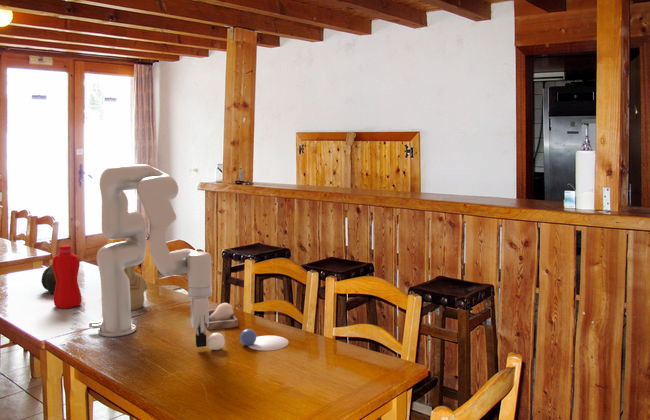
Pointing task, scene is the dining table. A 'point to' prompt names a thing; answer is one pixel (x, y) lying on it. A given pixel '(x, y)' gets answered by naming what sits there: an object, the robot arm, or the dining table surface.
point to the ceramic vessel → (136, 288)
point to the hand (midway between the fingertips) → (201, 345)
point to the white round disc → (269, 343)
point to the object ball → (248, 337)
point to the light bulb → (221, 313)
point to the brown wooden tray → (222, 322)
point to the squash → (49, 280)
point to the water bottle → (66, 278)
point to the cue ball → (216, 341)
